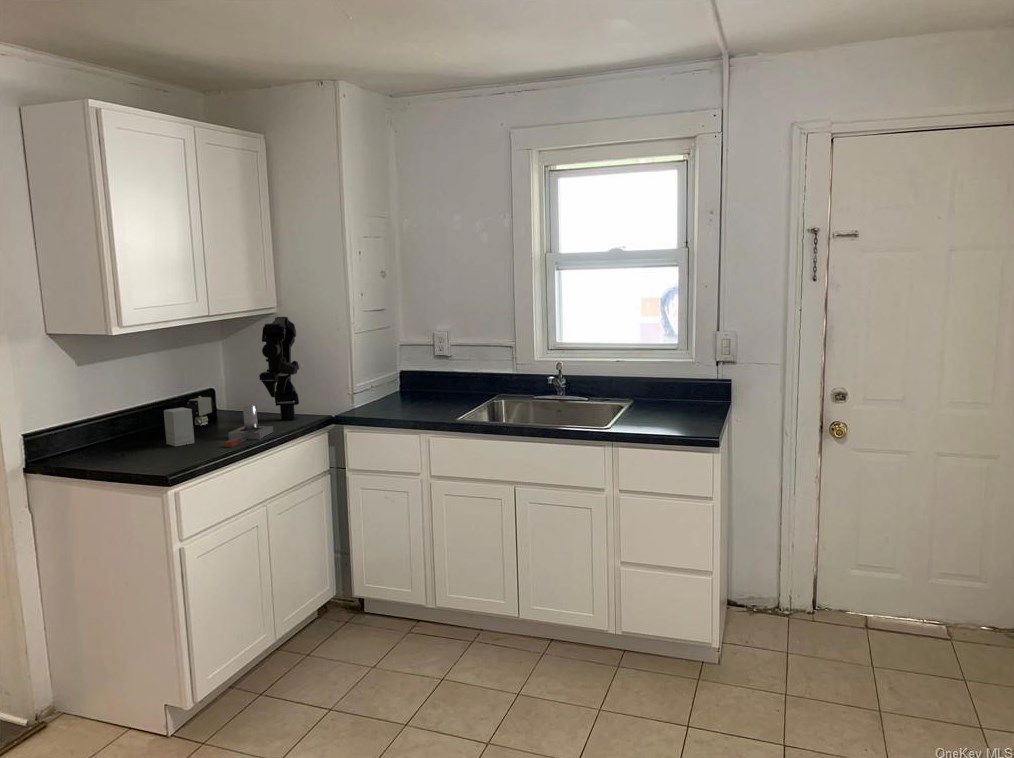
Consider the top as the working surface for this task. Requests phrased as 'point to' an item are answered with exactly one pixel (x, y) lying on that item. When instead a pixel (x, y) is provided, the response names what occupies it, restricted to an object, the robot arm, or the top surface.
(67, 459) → the top surface
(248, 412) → the shiny metal cylinder
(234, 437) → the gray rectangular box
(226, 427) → the top surface
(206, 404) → the pneumatic valve
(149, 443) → the top surface
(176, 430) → the supplement box
